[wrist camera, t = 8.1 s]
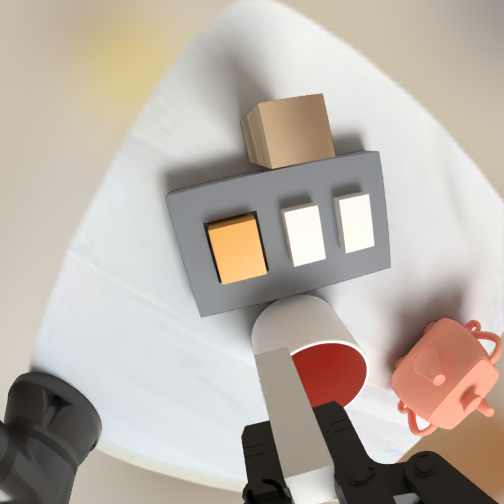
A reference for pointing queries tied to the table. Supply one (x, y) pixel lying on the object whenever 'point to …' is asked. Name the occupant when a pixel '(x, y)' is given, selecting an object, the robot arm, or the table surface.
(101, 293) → the table surface
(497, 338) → the teapot
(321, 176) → the panel
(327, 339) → the cup
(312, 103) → the oak post
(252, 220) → the orange rectangular block
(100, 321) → the table surface
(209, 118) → the table surface
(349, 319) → the table surface
